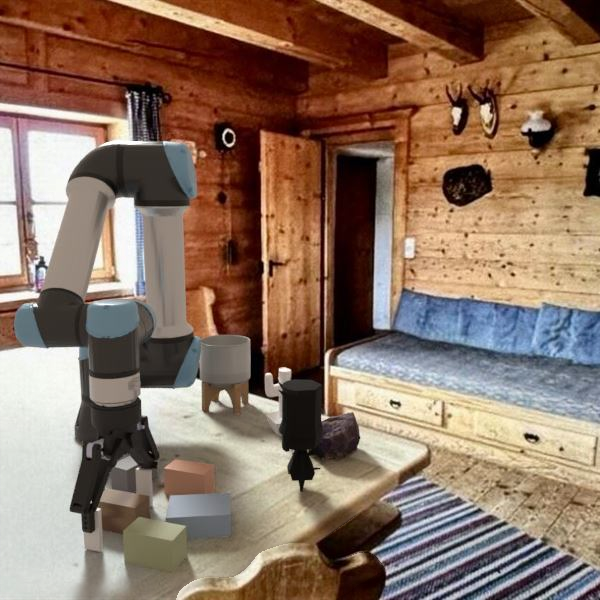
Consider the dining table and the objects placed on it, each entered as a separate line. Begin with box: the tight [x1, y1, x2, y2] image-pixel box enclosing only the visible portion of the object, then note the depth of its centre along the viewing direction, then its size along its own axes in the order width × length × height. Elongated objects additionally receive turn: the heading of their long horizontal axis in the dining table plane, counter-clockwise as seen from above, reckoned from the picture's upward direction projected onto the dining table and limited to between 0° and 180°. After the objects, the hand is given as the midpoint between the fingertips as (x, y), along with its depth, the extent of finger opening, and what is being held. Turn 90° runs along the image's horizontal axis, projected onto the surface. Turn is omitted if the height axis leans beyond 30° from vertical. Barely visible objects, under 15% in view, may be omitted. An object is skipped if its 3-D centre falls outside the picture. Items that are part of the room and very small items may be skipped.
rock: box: [307, 411, 361, 461], centre depth 118 cm, size 12×9×10 cm
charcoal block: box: [110, 455, 159, 493], centre depth 105 cm, size 8×4×5 cm, turn 152°
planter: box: [199, 334, 252, 415], centre depth 146 cm, size 13×13×18 cm
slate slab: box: [165, 492, 232, 540], centre depth 92 cm, size 10×7×4 cm
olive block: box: [122, 517, 188, 574], centre depth 83 cm, size 8×4×5 cm, turn 72°
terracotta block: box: [163, 458, 216, 496], centre depth 103 cm, size 8×4×5 cm, turn 72°
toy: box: [276, 379, 327, 493], centre depth 103 cm, size 8×9×20 cm
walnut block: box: [97, 488, 151, 535], centre depth 91 cm, size 8×4×5 cm, turn 72°
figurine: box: [264, 366, 292, 437], centre depth 130 cm, size 7×9×15 cm
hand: (121, 525), depth 91 cm, fingers open, 13 cm apart
